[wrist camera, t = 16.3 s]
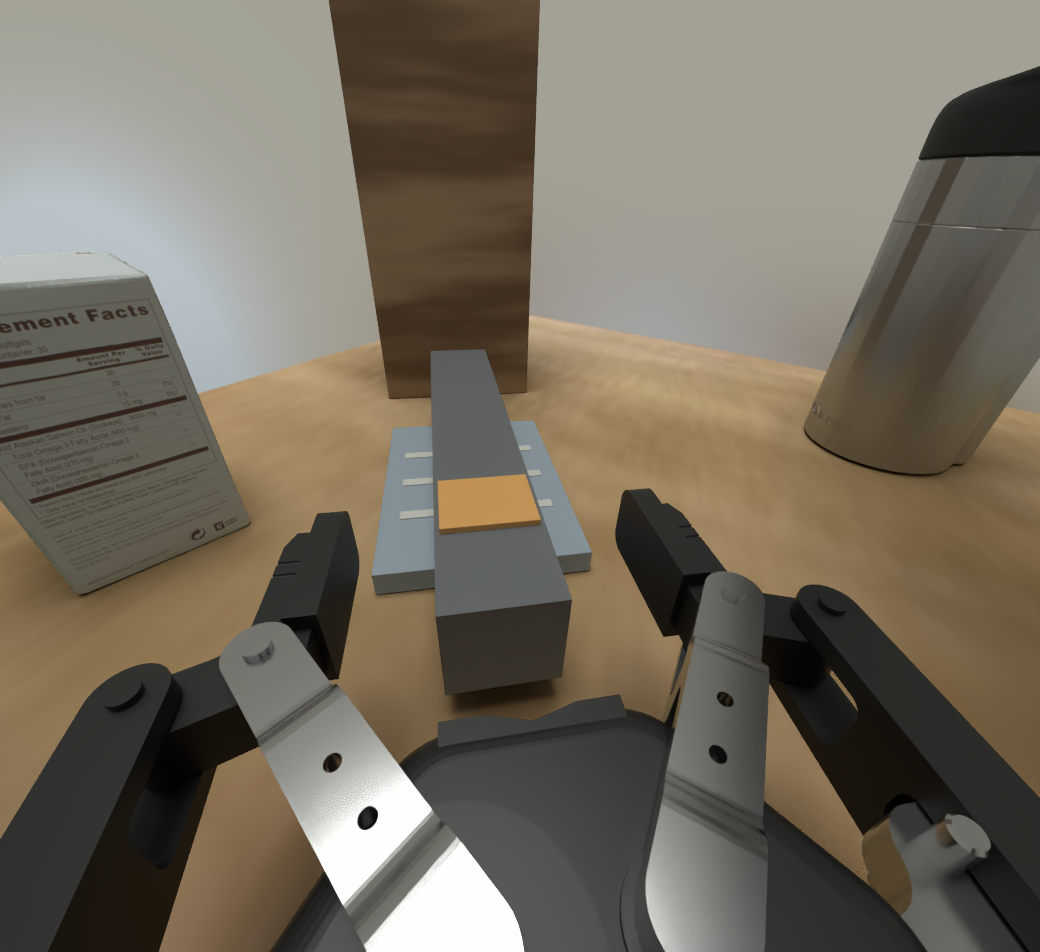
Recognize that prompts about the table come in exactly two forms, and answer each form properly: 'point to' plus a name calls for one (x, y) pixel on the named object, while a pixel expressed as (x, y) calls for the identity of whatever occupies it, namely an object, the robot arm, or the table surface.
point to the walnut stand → (444, 175)
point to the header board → (411, 512)
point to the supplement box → (102, 422)
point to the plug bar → (489, 539)
